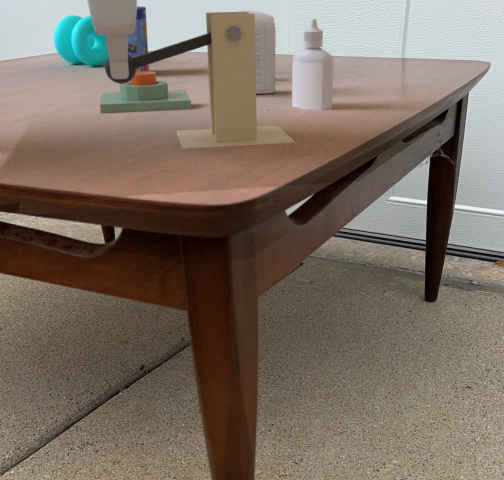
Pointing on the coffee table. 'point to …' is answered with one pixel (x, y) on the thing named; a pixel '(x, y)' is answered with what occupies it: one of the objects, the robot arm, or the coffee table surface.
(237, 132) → the bracket
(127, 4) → the robot arm
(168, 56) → the lever
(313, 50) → the eye dropper bottle
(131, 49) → the ink cartridge box
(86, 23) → the cyan double wheel
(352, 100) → the coffee table surface
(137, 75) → the button
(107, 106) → the button box
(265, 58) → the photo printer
